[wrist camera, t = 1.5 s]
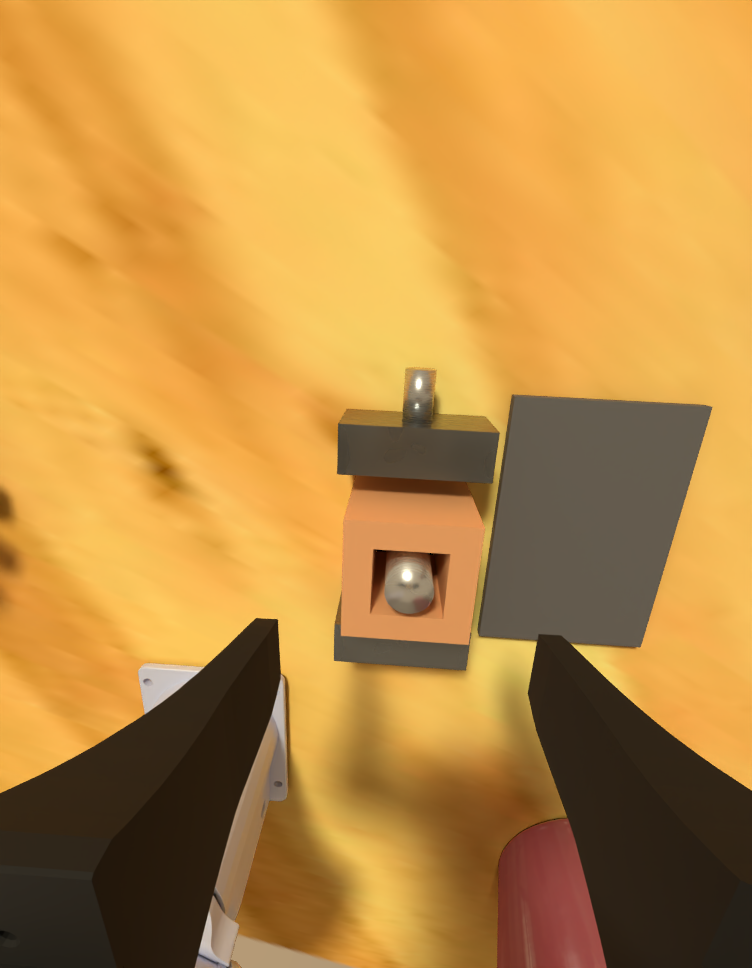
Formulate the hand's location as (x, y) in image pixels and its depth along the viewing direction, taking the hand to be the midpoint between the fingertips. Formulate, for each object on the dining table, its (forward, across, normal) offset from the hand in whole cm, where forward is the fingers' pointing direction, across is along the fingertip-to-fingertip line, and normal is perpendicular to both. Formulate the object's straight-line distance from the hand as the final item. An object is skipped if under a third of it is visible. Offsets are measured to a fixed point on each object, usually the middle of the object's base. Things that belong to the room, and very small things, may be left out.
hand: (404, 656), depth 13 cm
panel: (+9, -8, 0) cm, 12 cm away
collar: (+9, 0, 0) cm, 9 cm away
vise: (+9, 0, -1) cm, 9 cm away
